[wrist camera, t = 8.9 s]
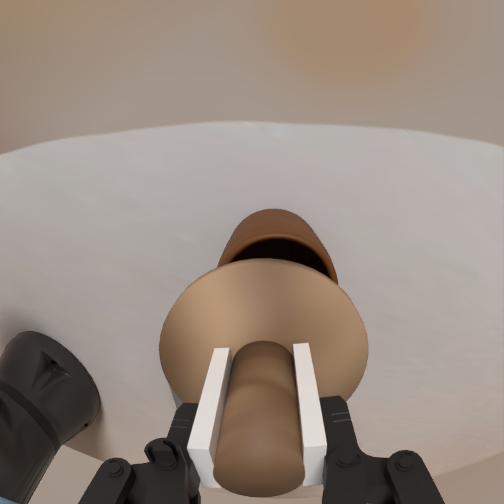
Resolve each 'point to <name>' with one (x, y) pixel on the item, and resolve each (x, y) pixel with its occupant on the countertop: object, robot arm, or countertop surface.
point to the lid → (262, 361)
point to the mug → (278, 241)
